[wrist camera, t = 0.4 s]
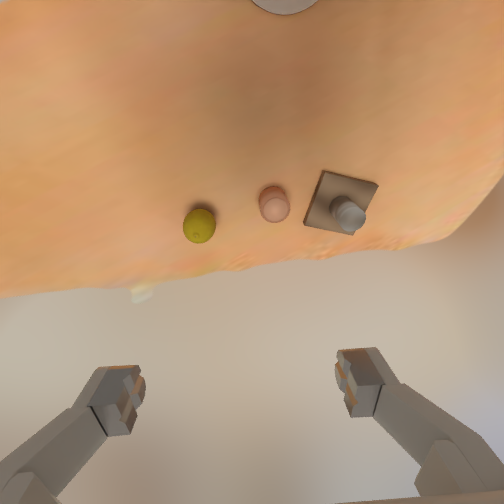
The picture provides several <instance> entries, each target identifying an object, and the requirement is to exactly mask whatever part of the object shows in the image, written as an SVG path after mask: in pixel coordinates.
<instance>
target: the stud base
mask: <svg viewBox="0 0 504 504" xmlns="http://www.w3.org/2000/svg"><path fill="white" fill-rule="evenodd" d="M377 188H378V185H377V184H375V183H372V182H368V181H364V180H359V179H355V178H351V177H347V176H343V175H339V174H335V173H331V172H327V171H322V174H321V176H320V179H319V181H318V184H317V187H316V189H315V192H314V195H313V197H312V200H311V203H310V205H309V208H308V210H307V213H306V216H305V218H304V221H303V223H304V225H305V226H309V227H314V228H319V229H324V230H329V231H333V232H338V233H343V234H348V235H354V233H355V231H356V230H358V229H359V228H361V227H362V226H363V224H364V223H365V220H366V215H365V211H366V209H367V208H368V206H369V204H370V202H371V200H372V198H373V196H374V194H375V192H376V190H377Z"/></svg>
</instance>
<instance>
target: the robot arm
mask: <svg viewBox="0 0 504 504" xmlns="http://www.w3.org/2000/svg"><path fill="white" fill-rule="evenodd" d="M252 1H253V2H254V3H255V4H257V5H258V6H259V7H261V8H262V9H264V10H266V11H268V12H271V13H275V14H281V15H288V14H294V13H298V12H300V11H303V10H305V9H307V8H308V7H310V6H311V5H313V4H314V3H315V2H317V1H318V0H252ZM337 359H338V362H337V363H336V364H335V376H336V380H337V384H338V386H339V389H340V390H341V391H342V392H344V393H345V396H344V402H345V404H346V407H347V409H348V412H349V414H350V417H351V418H353V417H373V418H374V419H375V420H376V421H377V422H378V423H379V424H380V425H381V426H382V427H383V428H384V429H385V430H386V431H387V432H388V433H389V434H390V435H391V436H392V437H393V438H394V439H395V440H396V441H397V442H398V443H399V444H400V445H401V446H402V447H403V448H404V449H405V450H406V451H407V452H408V453H409V455H411V457H412V458H414V459H415V461H416V462H417V463H419V465H420V466H421V469H420V471H419V473H418V475H417V477H416V479H415V482H414V484H415V486H416V488H417V490H418V492H419V494H420V496H421V497H412V498H399V499H386V500H374V501H362V502H350V503H338V504H504V464H503V463H502V462H501V461H500V459H499V458H498V457H497V456H496V454H495V453H494V452H493V451H492V449H491V448H490V447H489V446H488V444H487V443H486V442H485V441H484V439H482V437H481V436H480V435H479V434H477V433H476V432H474V431H473V430H471V429H470V428H468V427H467V426H466V425H464V424H463V423H461V422H460V421H458V420H456V419H455V418H454V417H452V416H451V415H449V414H448V413H447V412H445V411H444V410H442V409H441V408H439V407H438V406H436V405H435V404H434V403H432V402H430V401H429V400H428V399H426V398H425V397H423V396H422V395H420V394H419V393H418V392H416V391H415V390H413V389H412V388H410V387H409V386H407V385H406V384H401V383H400V382H399V380H398V379H397V377H396V376H395V374H394V373H393V371H392V370H391V369H390V367H389V365H388V364H387V362H386V361H385V359H384V358H383V356H382V355H381V353H380V352H379V350H378V349H377V348H376V347H372V348H357V349H346V350H338V352H337ZM140 372H141V369H140V367H139V365H128V366H127V365H126V366H108V367H98V368H97V369H96V370H95V371H94V373H93V374H92V376H91V377H90V379H89V381H88V382H87V384H86V385H85V387H84V388H83V390H82V392H81V393H80V395H79V396H78V398H77V399H76V401H75V403H74V404H73V406H72V407H71V408H69V409H66V410H65V411H64V412H62V413H61V414H60V415H58V416H57V417H56V418H55V419H53V420H52V421H51V422H50V423H48V424H47V425H46V426H45V427H43V428H42V429H41V430H39V431H38V432H37V433H36V434H34V435H33V436H32V437H31V438H30V439H28V440H27V441H26V442H24V443H23V444H22V445H21V446H19V447H18V448H17V449H16V450H14V451H13V452H12V453H10V454H9V455H8V456H7V457H5V458H4V459H3V460H2V461H1V462H0V504H61V503H60V502H59V500H57V498H56V497H57V496H58V495H59V494H60V492H61V491H62V490H63V489H64V488H65V487H66V486H67V484H68V483H69V482H70V481H71V480H72V479H73V477H74V476H75V475H76V474H77V473H78V472H79V470H80V469H81V468H82V467H83V466H84V465H85V464H86V462H87V461H88V460H89V459H90V458H91V457H92V456H93V454H94V453H95V452H96V451H97V450H98V449H99V447H100V446H101V445H102V444H103V443H104V442H105V441H106V439H107V437H111V436H120V435H129V434H131V431H132V429H133V426H134V423H135V421H136V418H137V412H136V409H137V408H138V407H139V406H140V405H141V404H142V402H143V399H144V396H145V390H146V385H145V380H144V378H143V377H141V376H140V375H139V374H140Z"/></svg>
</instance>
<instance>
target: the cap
mask: <svg viewBox="0 0 504 504" xmlns="http://www.w3.org/2000/svg"><path fill="white" fill-rule="evenodd" d="M259 205H260V211H261V215H262V217H263V218H264V219H265V220H266V221H268V222H271V223H278V222H281V221H283V220H284V219H285V218H286V217H287V216H288V214H289V212H290V204H289V201H288V199H287V197H286V195H285V193H284V191H283V190H282V189H280V188H279V187H274V186H273V187H268V188H266V189H265V190H263V191H262V193H261V194H260V197H259Z"/></svg>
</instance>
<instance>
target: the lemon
mask: <svg viewBox="0 0 504 504" xmlns="http://www.w3.org/2000/svg"><path fill="white" fill-rule="evenodd" d="M215 229H216V222H215V219H214V217H213V215H212V214H211V213H210V212H208V211H207V210H204V209H195V210H193V211H191V212H190V213H188V214H187V216H186V217H185V219H184V222H183V231H184V234H185V236H186V238H187V239H188V240H190V241H191V242H193V243H204V242H206V241H208V240H209V239H210V238H211V237H212V236H213V234H214V232H215Z"/></svg>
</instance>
